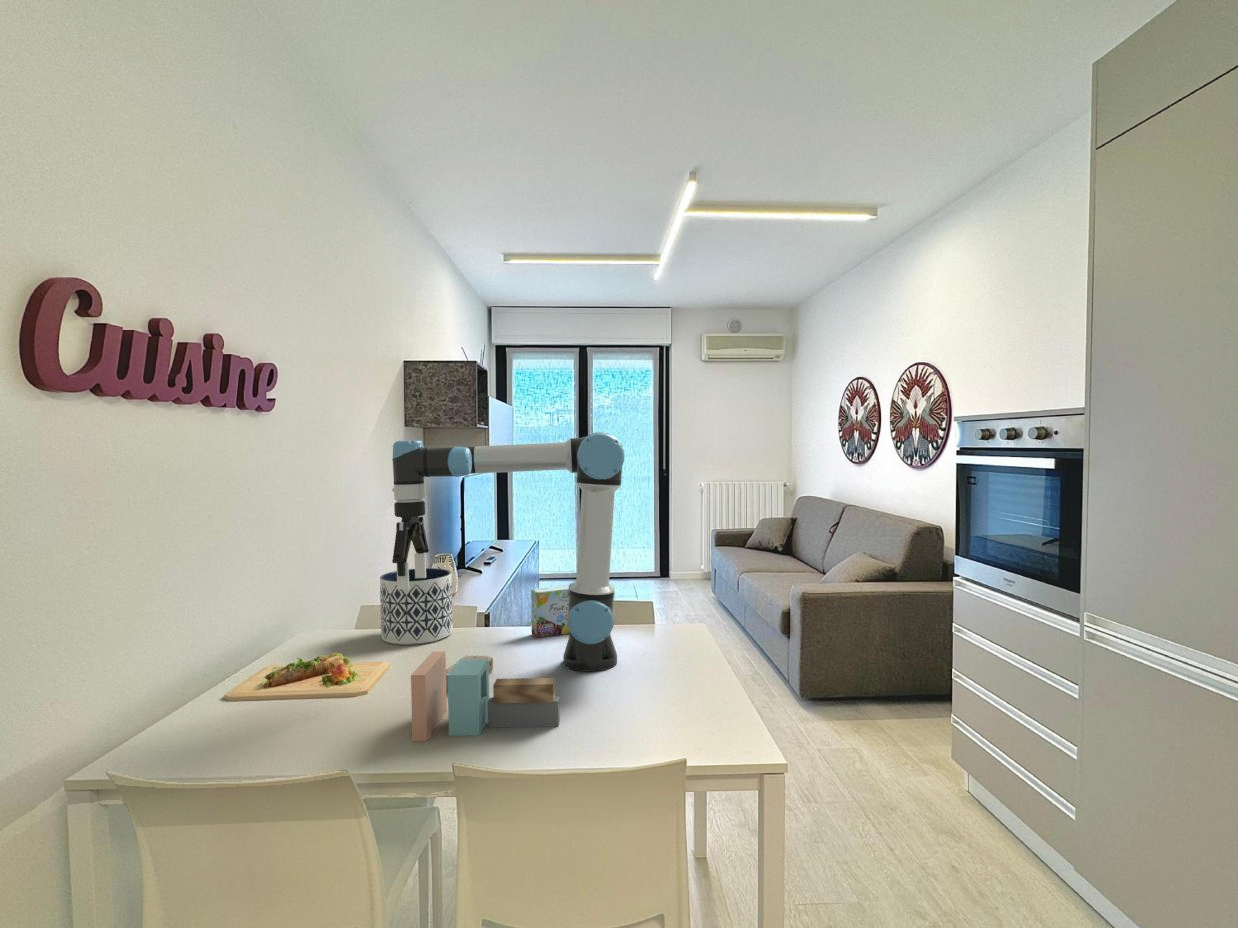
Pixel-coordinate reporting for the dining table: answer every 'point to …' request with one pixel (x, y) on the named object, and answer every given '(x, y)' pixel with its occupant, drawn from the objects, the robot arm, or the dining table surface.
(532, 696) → the bar
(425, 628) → the planter
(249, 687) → the cutting board
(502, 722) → the rail
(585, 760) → the dining table surface
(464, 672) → the block
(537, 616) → the snack box
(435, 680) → the base
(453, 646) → the dining table surface
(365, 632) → the dining table surface
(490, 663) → the brick
